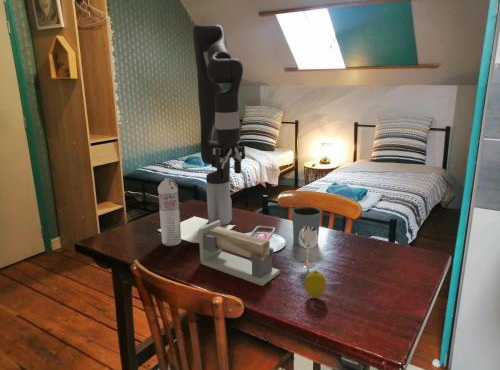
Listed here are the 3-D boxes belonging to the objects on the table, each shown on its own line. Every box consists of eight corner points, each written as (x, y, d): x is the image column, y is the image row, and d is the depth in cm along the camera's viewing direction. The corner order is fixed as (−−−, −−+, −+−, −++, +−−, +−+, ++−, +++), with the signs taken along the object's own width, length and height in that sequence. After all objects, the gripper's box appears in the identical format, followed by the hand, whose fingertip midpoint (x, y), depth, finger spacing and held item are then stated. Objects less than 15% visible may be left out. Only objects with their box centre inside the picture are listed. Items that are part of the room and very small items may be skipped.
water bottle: (183, 239, 145) (179, 173, 138) (178, 247, 138) (173, 177, 132) (165, 238, 145) (160, 172, 139) (159, 246, 139) (154, 177, 132)
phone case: (264, 246, 139) (275, 230, 153) (264, 242, 139) (275, 227, 153) (244, 243, 141) (257, 228, 155) (244, 240, 141) (257, 225, 155)
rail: (218, 240, 128) (217, 226, 127) (269, 256, 116) (269, 240, 115) (209, 244, 125) (209, 230, 123) (261, 261, 113) (261, 245, 112)
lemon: (302, 293, 108) (303, 266, 105) (322, 292, 108) (323, 265, 106) (306, 304, 102) (307, 276, 100) (327, 303, 103) (328, 275, 101)
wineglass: (318, 261, 126) (319, 226, 122) (315, 270, 120) (316, 233, 117) (300, 259, 127) (301, 224, 124) (296, 267, 122) (297, 231, 119)
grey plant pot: (287, 245, 138) (288, 213, 135) (295, 235, 147) (296, 204, 144) (316, 250, 134) (317, 216, 131) (322, 238, 143) (324, 207, 140)
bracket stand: (219, 253, 132) (218, 220, 129) (279, 273, 118) (279, 236, 115) (200, 263, 125) (198, 228, 122) (262, 286, 112) (262, 246, 108)
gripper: (232, 122, 130) (233, 169, 135) (202, 128, 119) (206, 180, 124) (250, 123, 126) (251, 172, 130) (222, 130, 115) (224, 183, 119)
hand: (229, 176), depth 127 cm, fingers open, 8 cm apart
